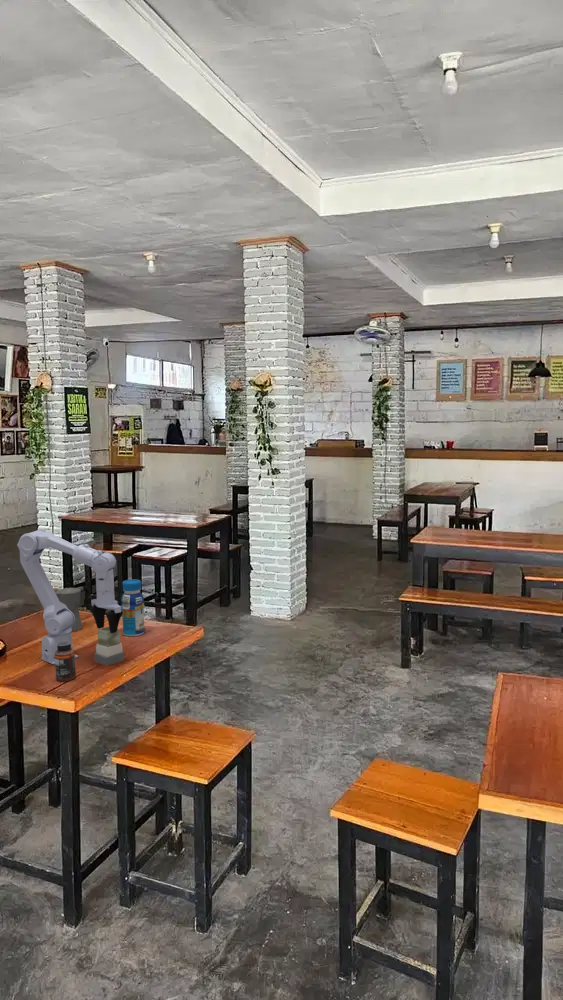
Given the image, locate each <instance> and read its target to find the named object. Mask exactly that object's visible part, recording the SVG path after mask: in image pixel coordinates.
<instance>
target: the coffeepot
mask: <svg viewBox="0 0 563 1000" xmlns="http://www.w3.org/2000/svg"><path fill="white" fill-rule="evenodd" d="M65 585H66V587H65V588H60V589H58V590H55V593H56V595H57V597H58V599H59V601H60V602H61V603H63V604H65V605H66V606H67V608H68V609H69V610H70V611H71V612H72V613H73V614H74V617H75V621H74V624H73V625H72V633H74V631H75V632H78V630H79V631H81V630H82V629H83V625H82V621H81V615H80V611H79V608H80V607H81V608H86V607H87V604H88V601H89V597H90V594H91V589H90V588H89V587H88V586H87V585H84V586H79V587H71V583H70V582H67V583H65ZM83 592H85V594H84V599H83V604H82V605H80V603H81V593H83ZM80 629H81V630H80Z"/></svg>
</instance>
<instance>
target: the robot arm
mask: <svg viewBox="0 0 563 1000" xmlns="http://www.w3.org/2000/svg"><path fill="white" fill-rule="evenodd" d="M17 547H18V550H19V561H20V562H19V563H20V564H21V566H22V568H23V570H24V572H25V574H26V576H27V578H28V580H29V582H30V584H31V586H32V588H33V590H34V592H35V594H36V596H37V599H38V600H39V601H40V604H41V606H42V607H43V615H42V618H43V620H44V627H45V630H46V632H47V633H48V634H47V635H44V636H43V637H42V639H41V655H42V656H41V658H40V659H41V660H42V661H45V662H46V663H49V664H51V665H55V651H56V650H57V649H58V648H57V644H58V643H60V642H70V643H71V648H72V649H73V648H74V647H73V632H72V625H73V624H74V621H75V617H74V614H73V613H72V612H71V611H70V610H69V609H68V608H67V606H66V605H65V604H63V603H61V602H60V601H59V599H58V597H57V595H56V593H55V592H56V590H54V587H53V586H52V584H51V582H50V580H49V578H48V576H47V574H46V572H45V570H44V568H43V566H42V564H41V561H40V559H41V556H42V553H43V552H44V551H45V550H46V549H54V550H56V551H57V550H58V551H60V552H63V553H65V554H68V555H71V556H72V557H73V560H74V561H75V562H78V563H80V564H83V565H85V566H88V567H90V568H92V570H93V571H94V573H95V585H96V587H95V589H96V590H95V591H96V598H95V599H91V601H90V602H91V607H90V608H89V612H90V613H91V614H92V616H93V618H94V621H95V625H96V628H97V630H99V629H102V628H105V617H106V619H107V621H108V627H109V629H110V633H115V632H117V628H118V627H119V623H120V620H121V619H122V618H121V617H122V614H123V611H122V609H121V605H119V604H118V600H116V599H115V598H116V597H115V581H114V580H115V575H114V568H115V566H116V563H117V559H116V557H115V556H114V554H112V553H111V552H110V551H105V552H103V551H102V550H100V549H99V550H97V549H94V548H92V547H90V545H89V544H87V543H84V544H80V545H76V544H74V543H72V542H71V541H70V542H69V541H67V540H65V539H63V538H61V537H60V536H58V535H55V534H54V533H52V532H51V531H46V530H45V529H37V530H35V531H32V532H28V533H24V534H22V535H21V536H20V538H19V540H18V542H17ZM107 611H108V612H107ZM118 629H119V628H118ZM73 650H74V649H73ZM76 658H79V655H77V654H75V659H76Z"/></svg>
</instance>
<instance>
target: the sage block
mask: <svg viewBox="0 0 563 1000" xmlns="http://www.w3.org/2000/svg"><path fill="white" fill-rule="evenodd" d="M120 632H121V631H120V628H117V632H115V633H110V629H109V626H106V627H103V628H99V629H97V644H98V645H102V646H105V647H111V646H114V645H117V644H120V643H121V637H120V636H121V634H120Z"/></svg>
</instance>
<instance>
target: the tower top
mask: <svg viewBox="0 0 563 1000" xmlns="http://www.w3.org/2000/svg"><path fill="white" fill-rule="evenodd" d="M95 650H96V652H95V653H98V654H100V655H103V656H106V657H109V656H112V655H115V654H118V653H121V652H123V643H121V642H120V644H117V645H114V646H111V647H105V646H102V645H98V643H96V644H95Z"/></svg>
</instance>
